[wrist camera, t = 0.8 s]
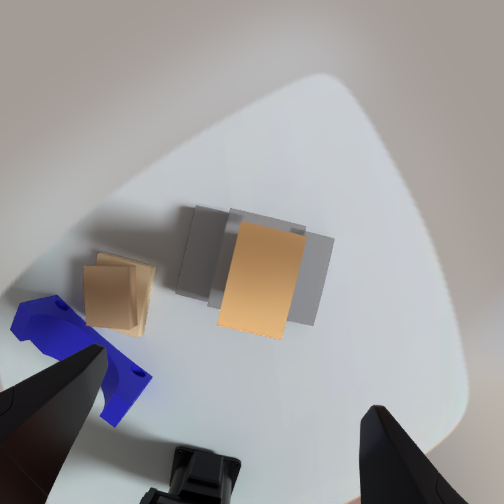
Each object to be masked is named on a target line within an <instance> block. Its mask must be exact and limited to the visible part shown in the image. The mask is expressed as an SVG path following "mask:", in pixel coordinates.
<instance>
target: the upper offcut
mask: <svg viewBox="0 0 504 504" xmlns="http://www.w3.org/2000/svg"><path fill="white" fill-rule="evenodd" d="M83 279H84V302H85V316H86V326H94V327H103V328H113V329H123V330H131V329H132V328H134V327H135V326H137V325H138V319H137V296H136V266H116V265H87V266H83Z"/></svg>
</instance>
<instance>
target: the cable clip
mask: <svg viewBox="0 0 504 504" xmlns="http://www.w3.org/2000/svg"><path fill="white" fill-rule="evenodd" d="M10 330H11V331H12V332H13V334H14V335H15V336H16V337H17V338H18V339H19V341H20V342H21V341H24V340H31V342H32V343H33V344H34V345H35V346H36V347H37V348H38V349H39V350H40V351H41V352H42V353H43V354H45V355H48V356H51V357H53V358H55V359H57V360H59V361H61V360H63V359H65V358H67V357H69V356H71V355H73V354H74V353H76V352H78V351H80V350H82V349H84V348H86V347H87V346H89V345H91V344H94V343H96V344H99V345H102V346H104V347H105V348H106V352H107V360H108V368H107V371H106V373H105V376H104V378H103V381H102V383H101V388H102V391H103V394H104V399H105V405H104V409H103V411H102V413H101V414H100V417H101V418H103V419H104V420H105V421H107V422H108V423H109V424H110V425H112V426H113V427H114V428H115V427H116V426H117V425H118V423H119V422H120V421H121V419H122V418H123V417H124V415H125V414H126V413H127V411H128V410H129V409H130V408H131V406H132V405H133V404H134V402H135V401H136V400H137V398H138V397H139V396H140V394H141V393H142V391H143V390H144V389H145V387H146V386H147V384H148V383H149V382H150V380H151V379H152V376H151V375H150V374H148V373H147V372H145V371H144V370H143V369H142V368H140V367H139V366H138V365H136V364H135V363H134V362H132V361H131V360H130V359H129V358H127V357H126V356H125V355H124V354H122V353H121V352H120V351H119V350H117V349H116V348H115V347H114V346H113V345H111V344H110V343H109V342H108V341H107V340H105V339H104V338H103V337H102V336H101V335H100V334H98V333H97V332H96V331H95V330H94V329H93V328H92V327H91V326H86V322H85V321H84V320H83V319H82V318H81V317H80V316H78V315H77V314H76V313H75V312H74V311H73V310H72V309H71V308H70V307H69V306H68V305H67V304H66V303H65V302H64V301H63V300H62V299H61V298H60V297H59V296H58V295H54V296H50V297H45V298H40V299H36V300H31V301H27V302H22V303H20V304H19V307H18V310H17V312H16V315H15V317H14V320H13V323H12V325H11V328H10Z"/></svg>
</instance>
